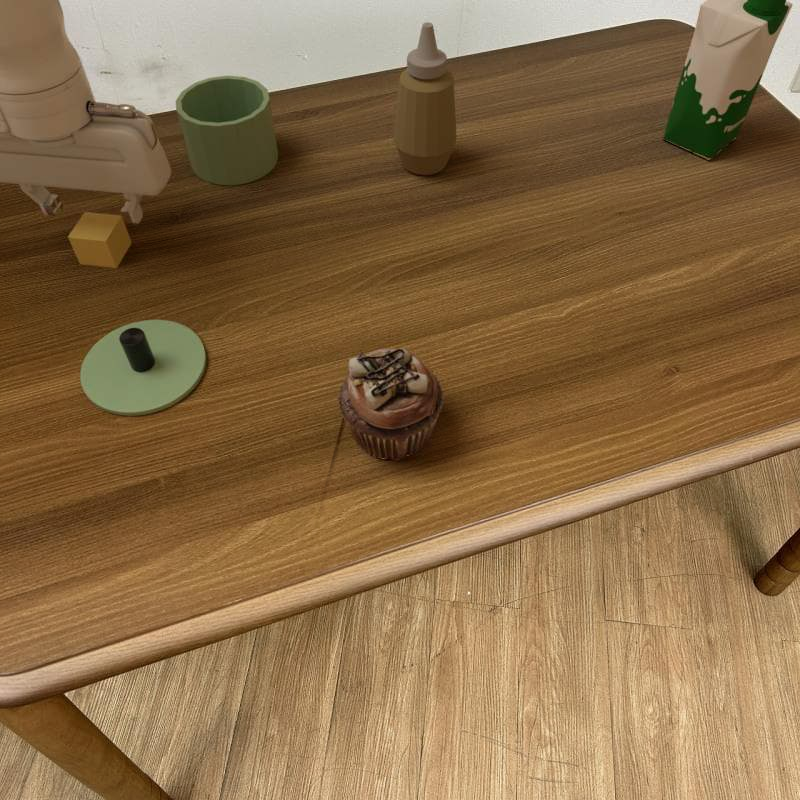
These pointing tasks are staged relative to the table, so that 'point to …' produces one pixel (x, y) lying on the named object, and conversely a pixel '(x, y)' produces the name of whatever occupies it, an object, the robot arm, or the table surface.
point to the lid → (143, 367)
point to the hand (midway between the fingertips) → (94, 216)
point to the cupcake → (390, 402)
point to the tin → (228, 129)
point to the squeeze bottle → (425, 108)
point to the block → (100, 239)
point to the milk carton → (723, 71)
